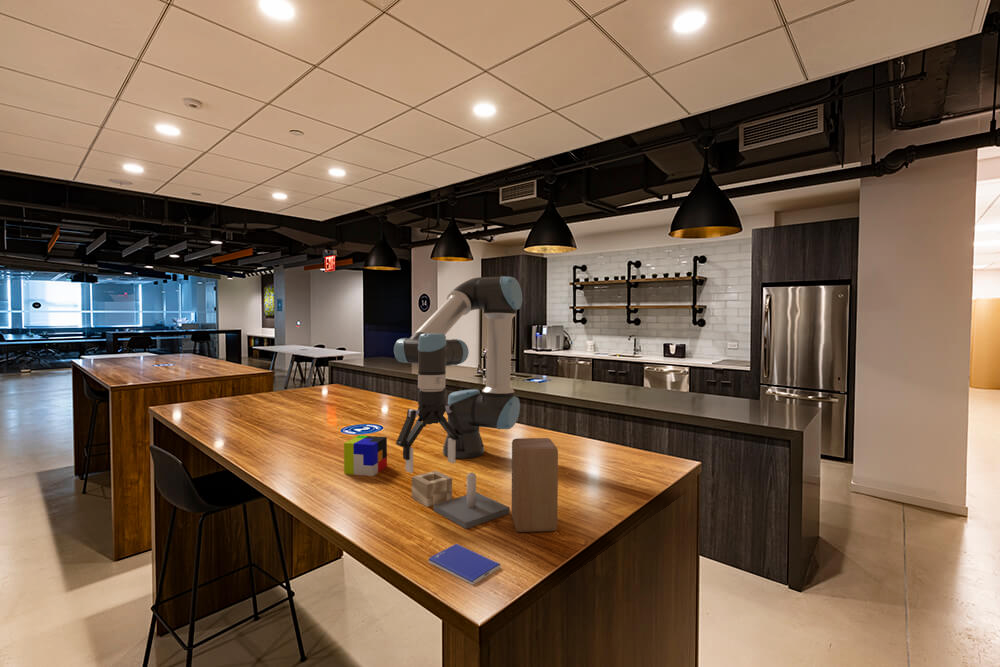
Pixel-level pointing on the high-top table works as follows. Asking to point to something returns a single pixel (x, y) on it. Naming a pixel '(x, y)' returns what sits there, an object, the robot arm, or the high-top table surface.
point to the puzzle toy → (365, 455)
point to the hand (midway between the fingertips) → (431, 466)
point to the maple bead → (431, 488)
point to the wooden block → (534, 484)
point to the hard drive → (464, 563)
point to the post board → (471, 507)
